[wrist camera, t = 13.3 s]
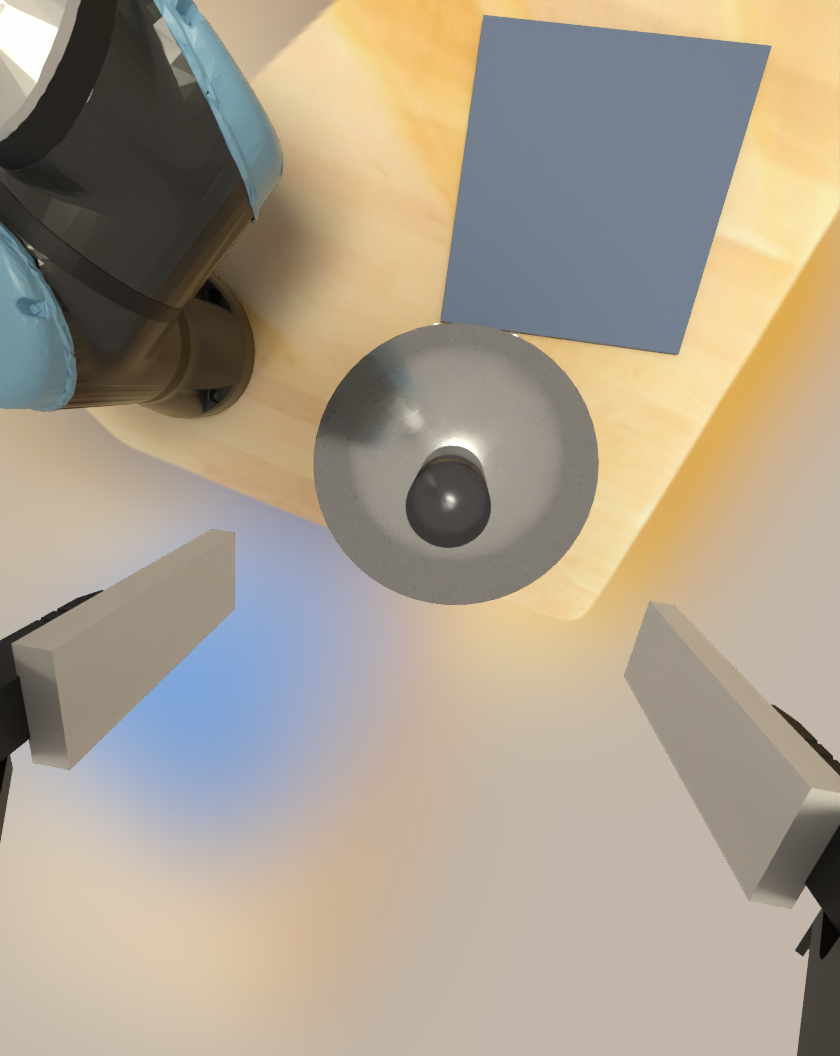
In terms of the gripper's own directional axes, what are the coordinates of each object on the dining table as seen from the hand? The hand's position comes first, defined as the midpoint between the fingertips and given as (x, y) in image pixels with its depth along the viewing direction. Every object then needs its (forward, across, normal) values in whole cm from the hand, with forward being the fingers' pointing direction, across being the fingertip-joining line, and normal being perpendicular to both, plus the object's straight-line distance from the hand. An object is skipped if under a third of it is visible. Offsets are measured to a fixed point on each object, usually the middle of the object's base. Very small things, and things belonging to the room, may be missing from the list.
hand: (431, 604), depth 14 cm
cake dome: (+35, 0, 0) cm, 35 cm away
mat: (+35, +8, +24) cm, 43 cm away
